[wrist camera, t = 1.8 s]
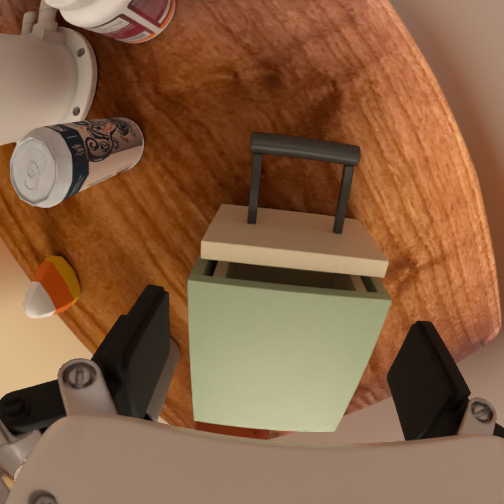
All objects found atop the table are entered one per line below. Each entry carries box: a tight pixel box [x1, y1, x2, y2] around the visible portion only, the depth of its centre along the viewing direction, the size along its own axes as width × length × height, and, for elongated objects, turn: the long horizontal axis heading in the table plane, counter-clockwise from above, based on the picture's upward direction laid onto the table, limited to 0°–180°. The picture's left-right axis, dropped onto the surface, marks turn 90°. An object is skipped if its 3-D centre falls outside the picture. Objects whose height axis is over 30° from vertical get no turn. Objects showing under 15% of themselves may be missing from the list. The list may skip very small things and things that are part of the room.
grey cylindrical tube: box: [144, 338, 180, 422], centre depth 29 cm, size 4×4×10 cm
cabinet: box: [187, 254, 392, 432], centre depth 26 cm, size 15×13×10 cm
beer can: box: [10, 117, 144, 208], centre depth 19 cm, size 5×5×12 cm
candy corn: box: [23, 256, 81, 318], centre depth 27 cm, size 6×3×8 cm, turn 21°
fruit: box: [195, 421, 269, 440], centre depth 33 cm, size 9×9×8 cm
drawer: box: [201, 132, 389, 292], centre depth 23 cm, size 20×11×8 cm, turn 175°
